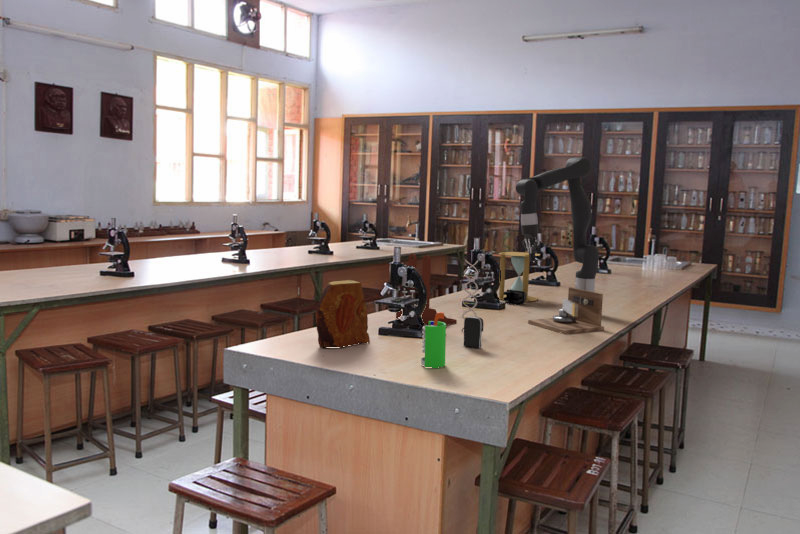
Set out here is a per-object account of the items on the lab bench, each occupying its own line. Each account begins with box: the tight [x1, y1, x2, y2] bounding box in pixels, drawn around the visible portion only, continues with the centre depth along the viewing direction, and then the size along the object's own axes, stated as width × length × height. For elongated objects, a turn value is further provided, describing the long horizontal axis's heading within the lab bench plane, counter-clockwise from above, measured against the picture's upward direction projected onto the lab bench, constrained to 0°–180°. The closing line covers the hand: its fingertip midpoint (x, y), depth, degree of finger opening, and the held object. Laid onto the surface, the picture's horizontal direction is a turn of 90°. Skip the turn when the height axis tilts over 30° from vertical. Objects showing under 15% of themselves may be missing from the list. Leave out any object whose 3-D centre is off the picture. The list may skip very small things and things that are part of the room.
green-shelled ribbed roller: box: [420, 311, 447, 369], centre depth 235 cm, size 9×8×18 cm
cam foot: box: [552, 298, 578, 323], centre depth 307 cm, size 20×10×10 cm, turn 5°
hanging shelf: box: [395, 253, 458, 326], centre depth 312 cm, size 24×13×30 cm, turn 48°
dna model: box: [461, 259, 479, 332], centre depth 289 cm, size 7×6×30 cm
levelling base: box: [527, 287, 605, 335], centre depth 307 cm, size 22×24×16 cm
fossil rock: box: [314, 279, 371, 348], centre depth 260 cm, size 24×8×24 cm, turn 128°
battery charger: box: [463, 315, 484, 349], centre depth 264 cm, size 7×4×11 cm, turn 55°
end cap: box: [503, 289, 526, 306], centre depth 367 cm, size 10×7×7 cm
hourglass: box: [498, 251, 541, 303], centre depth 381 cm, size 24×22×25 cm
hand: (532, 261), depth 324 cm, fingers closed
